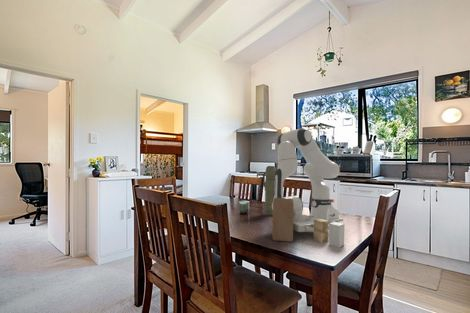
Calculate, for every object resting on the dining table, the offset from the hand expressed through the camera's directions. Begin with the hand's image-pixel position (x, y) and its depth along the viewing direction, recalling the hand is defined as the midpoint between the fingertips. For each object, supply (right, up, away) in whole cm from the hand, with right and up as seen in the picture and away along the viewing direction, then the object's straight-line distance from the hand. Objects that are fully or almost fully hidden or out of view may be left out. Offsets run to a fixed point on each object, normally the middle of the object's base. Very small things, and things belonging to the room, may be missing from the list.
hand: (321, 229), depth 127 cm
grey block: (+5, -6, -6) cm, 10 cm away
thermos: (-18, -6, +58) cm, 61 cm away
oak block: (0, -6, 0) cm, 6 cm away
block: (-19, -6, +2) cm, 20 cm away
